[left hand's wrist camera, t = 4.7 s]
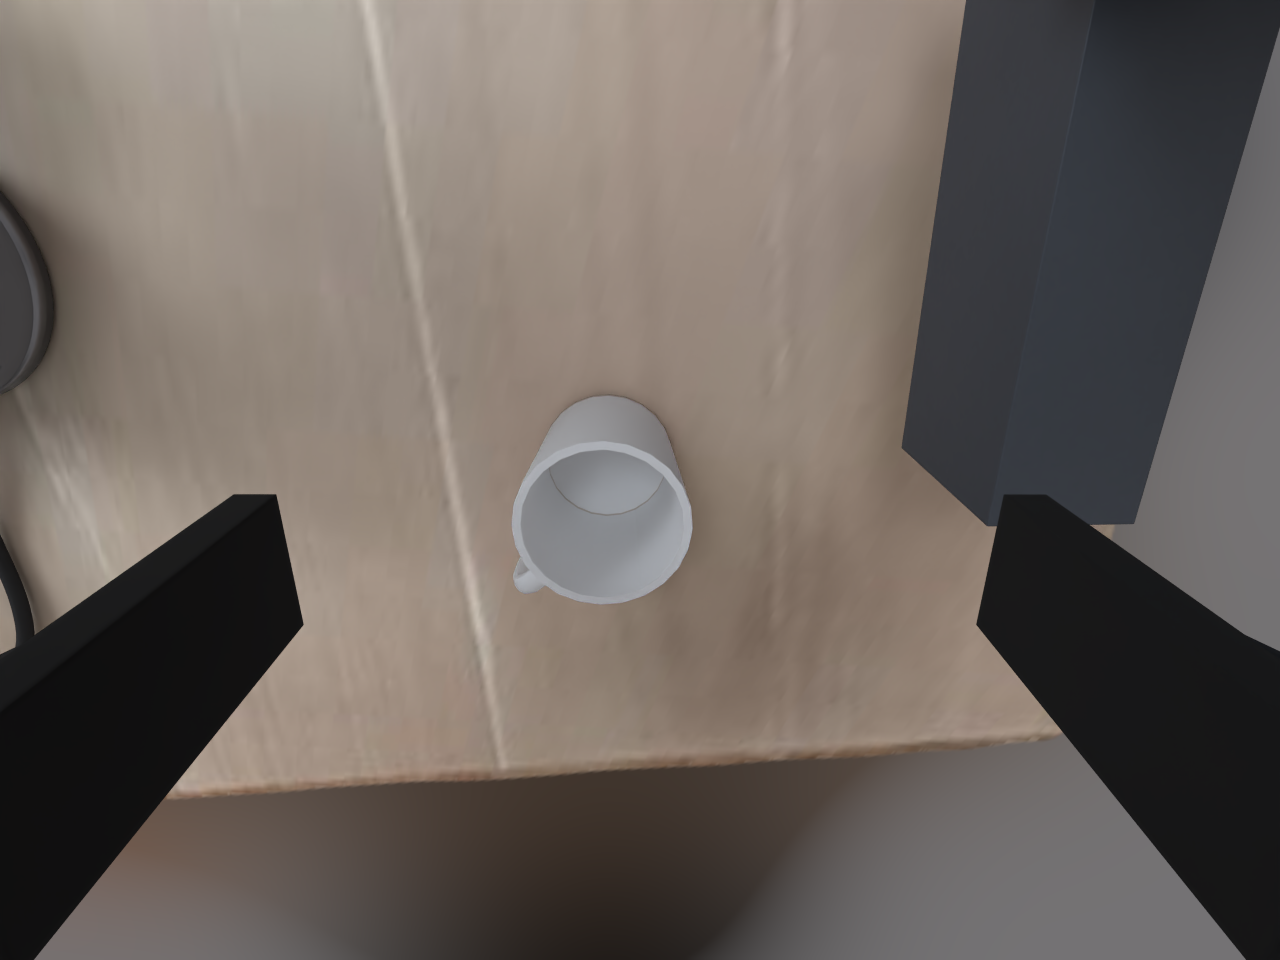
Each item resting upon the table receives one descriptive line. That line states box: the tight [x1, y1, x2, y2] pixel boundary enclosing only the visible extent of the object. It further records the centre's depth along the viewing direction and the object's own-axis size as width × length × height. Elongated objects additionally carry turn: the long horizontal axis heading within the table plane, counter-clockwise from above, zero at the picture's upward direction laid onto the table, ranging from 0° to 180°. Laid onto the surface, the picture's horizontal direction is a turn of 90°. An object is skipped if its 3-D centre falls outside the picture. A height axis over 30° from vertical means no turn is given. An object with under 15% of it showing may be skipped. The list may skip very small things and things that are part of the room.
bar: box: [902, 0, 1280, 526], centre depth 25 cm, size 23×5×8 cm, turn 1°
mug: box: [511, 395, 693, 605], centre depth 39 cm, size 11×9×10 cm
